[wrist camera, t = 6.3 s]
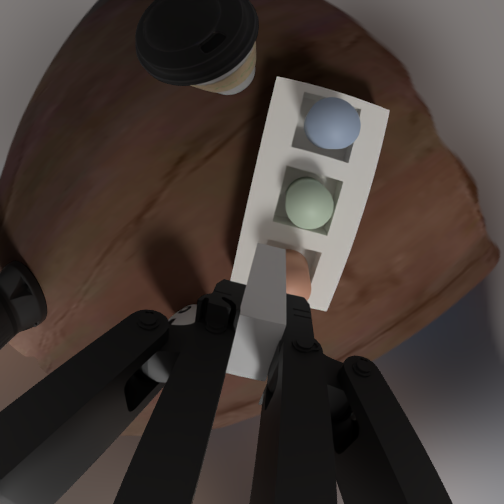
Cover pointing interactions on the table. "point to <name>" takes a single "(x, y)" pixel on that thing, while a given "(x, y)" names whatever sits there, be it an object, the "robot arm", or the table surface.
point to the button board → (320, 168)
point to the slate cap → (332, 124)
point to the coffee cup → (199, 43)
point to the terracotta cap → (297, 274)
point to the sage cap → (308, 203)
